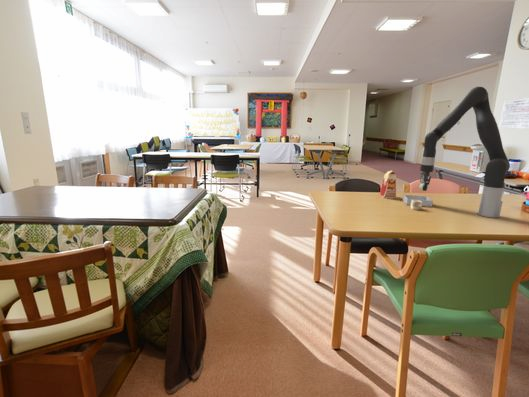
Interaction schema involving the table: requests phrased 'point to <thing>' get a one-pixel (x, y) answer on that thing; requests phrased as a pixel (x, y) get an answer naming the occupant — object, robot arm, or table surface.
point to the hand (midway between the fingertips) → (423, 189)
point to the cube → (416, 204)
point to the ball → (422, 186)
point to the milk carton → (389, 185)
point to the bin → (424, 199)
